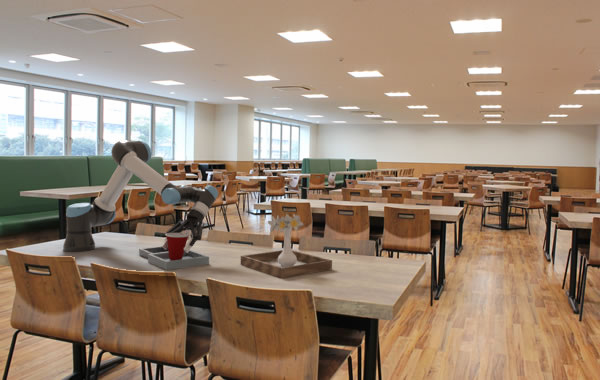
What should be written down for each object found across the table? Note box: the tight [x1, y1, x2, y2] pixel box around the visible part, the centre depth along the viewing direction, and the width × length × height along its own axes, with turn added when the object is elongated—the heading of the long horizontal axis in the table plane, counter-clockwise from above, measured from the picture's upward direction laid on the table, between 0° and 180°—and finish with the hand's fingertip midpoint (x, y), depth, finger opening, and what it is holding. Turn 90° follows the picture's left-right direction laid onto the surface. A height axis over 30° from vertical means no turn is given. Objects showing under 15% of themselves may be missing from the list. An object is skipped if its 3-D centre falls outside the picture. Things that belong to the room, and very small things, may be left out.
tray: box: [147, 249, 210, 271], centre depth 225 cm, size 20×20×4 cm
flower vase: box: [267, 213, 304, 268], centre depth 219 cm, size 12×18×24 cm
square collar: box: [138, 245, 168, 260], centre depth 241 cm, size 15×15×3 cm
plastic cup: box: [165, 232, 190, 260], centre depth 226 cm, size 11×11×12 cm
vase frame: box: [240, 249, 333, 279], centre depth 220 cm, size 31×27×4 cm
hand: (174, 249), depth 223 cm, fingers open, 13 cm apart
